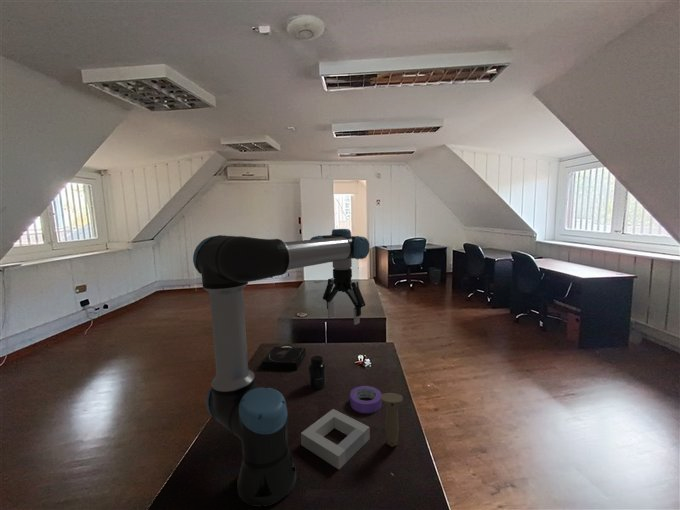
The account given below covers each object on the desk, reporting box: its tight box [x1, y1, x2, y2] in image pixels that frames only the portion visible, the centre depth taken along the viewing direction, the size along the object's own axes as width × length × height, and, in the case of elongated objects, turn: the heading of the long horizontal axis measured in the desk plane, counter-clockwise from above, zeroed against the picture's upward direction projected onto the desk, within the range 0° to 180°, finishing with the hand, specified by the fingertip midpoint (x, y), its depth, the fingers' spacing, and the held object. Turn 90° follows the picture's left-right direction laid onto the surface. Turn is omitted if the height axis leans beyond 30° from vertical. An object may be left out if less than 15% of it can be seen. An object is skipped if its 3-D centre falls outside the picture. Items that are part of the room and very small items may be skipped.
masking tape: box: [349, 385, 383, 414], centre depth 114 cm, size 12×12×4 cm
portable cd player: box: [260, 346, 307, 371], centre depth 149 cm, size 16×17×4 cm
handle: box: [381, 392, 404, 448], centre depth 92 cm, size 5×6×15 cm
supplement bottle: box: [308, 355, 326, 390], centre depth 126 cm, size 7×7×12 cm
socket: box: [300, 408, 371, 470], centre depth 94 cm, size 15×15×4 cm
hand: (343, 320), depth 123 cm, fingers open, 13 cm apart
